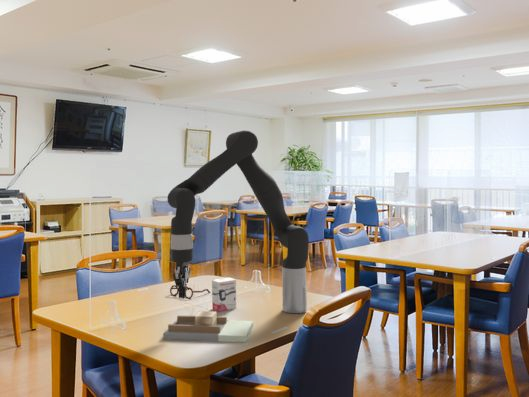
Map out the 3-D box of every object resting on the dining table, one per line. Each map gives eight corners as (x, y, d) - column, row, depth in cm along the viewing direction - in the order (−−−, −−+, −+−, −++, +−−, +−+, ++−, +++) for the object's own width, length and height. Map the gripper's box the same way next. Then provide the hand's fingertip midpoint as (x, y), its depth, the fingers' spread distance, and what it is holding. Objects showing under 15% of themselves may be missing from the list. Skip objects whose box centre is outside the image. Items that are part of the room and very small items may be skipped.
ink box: (217, 311, 201) (217, 282, 200) (211, 308, 205) (211, 279, 204) (236, 308, 205) (236, 279, 204) (230, 305, 209) (230, 277, 209)
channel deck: (253, 326, 181) (253, 315, 181) (245, 342, 165) (245, 329, 165) (177, 324, 185) (177, 313, 185) (163, 339, 169) (162, 327, 169)
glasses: (169, 296, 228) (169, 285, 227) (189, 290, 238) (189, 279, 238) (191, 300, 220) (191, 288, 220) (211, 293, 231) (211, 282, 231)
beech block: (216, 324, 178) (216, 311, 177) (212, 329, 172) (212, 316, 171) (199, 324, 178) (199, 311, 178) (195, 329, 173) (195, 316, 172)
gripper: (187, 250, 167) (187, 302, 168) (197, 244, 181) (198, 293, 182) (164, 249, 168) (165, 302, 169) (176, 244, 182) (177, 292, 183)
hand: (182, 297), depth 176 cm, fingers closed
